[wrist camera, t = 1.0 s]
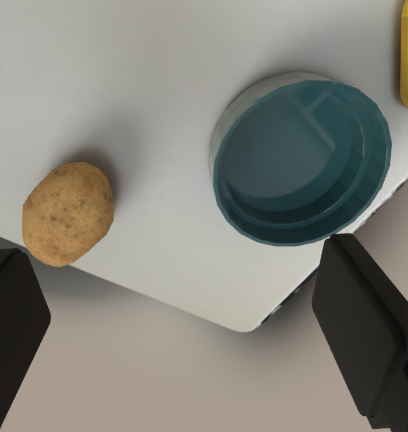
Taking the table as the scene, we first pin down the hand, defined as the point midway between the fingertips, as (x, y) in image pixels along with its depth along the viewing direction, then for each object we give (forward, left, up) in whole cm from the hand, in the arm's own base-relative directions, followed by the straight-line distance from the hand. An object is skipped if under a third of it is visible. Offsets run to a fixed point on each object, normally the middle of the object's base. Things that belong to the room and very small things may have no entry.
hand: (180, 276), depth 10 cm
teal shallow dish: (+6, +13, -29) cm, 32 cm away
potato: (+12, -13, -29) cm, 34 cm away
